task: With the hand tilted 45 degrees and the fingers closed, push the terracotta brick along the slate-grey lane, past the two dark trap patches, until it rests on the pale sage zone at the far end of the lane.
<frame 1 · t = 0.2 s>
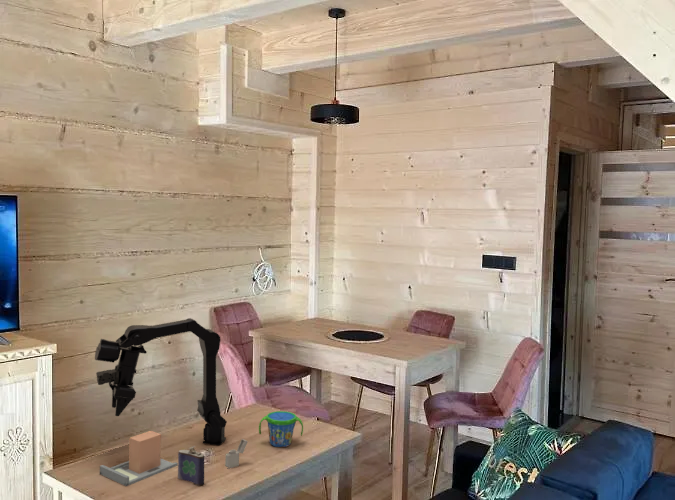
hand: (115, 411, 196), 15 cm above the table, tool pointing down, fingers open, 9 cm apart
flask: (191, 482, 181), on the table
snack cup: (280, 444, 213), on the table
terracotta block: (144, 467, 189), resting on slate lane
slate lane: (140, 470, 188), on the table
lighter: (236, 465, 194), on the table
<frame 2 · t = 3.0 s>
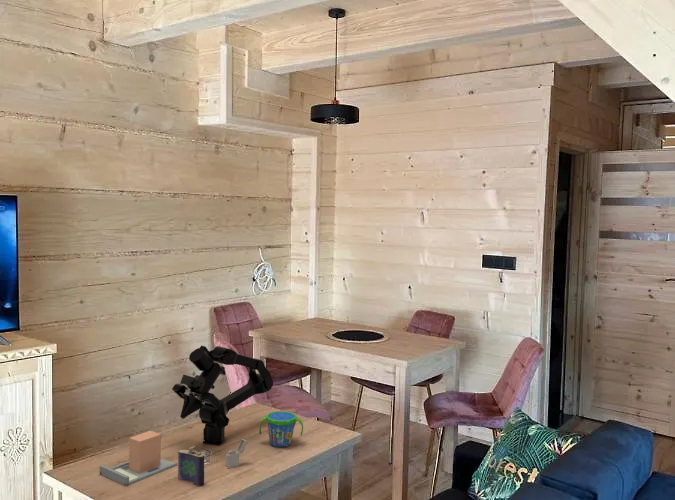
hand: (181, 417, 200), 12 cm above the table, tool tilted 45°, fingers closed
nothing on the table moved.
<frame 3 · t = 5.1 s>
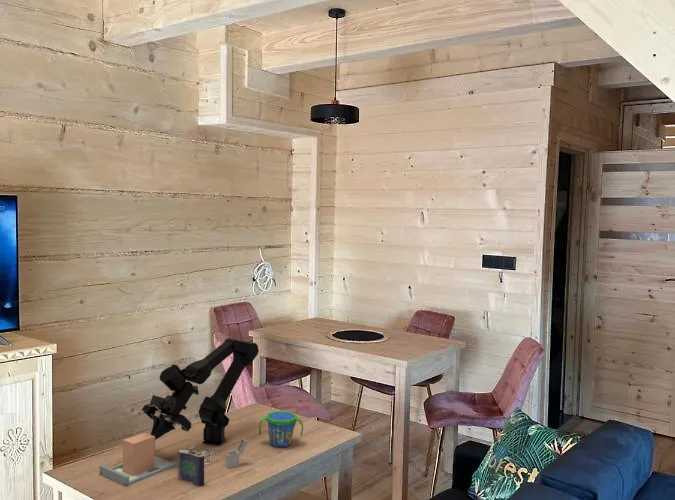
hand: (150, 440, 190), 8 cm above the table, tool tilted 45°, fingers closed
terracotta block: (138, 469, 187), point 1 cm above the table, touching slate lane
everything else where it was.
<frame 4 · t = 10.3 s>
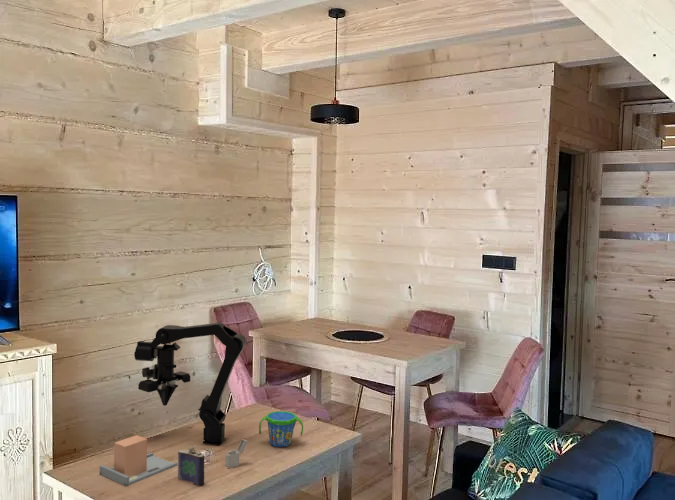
hand: (164, 405, 213), 12 cm above the table, tool pointing down, fingers closed
terracotta block: (130, 472, 185), point 1 cm above the table, touching slate lane
everything else where it was.
at the end: terracotta block inside the target area (1.2 cm from its centre), point 0.5 cm above the table; terracotta block tilted 0°; terracotta block moved 5.3 cm from its start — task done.
